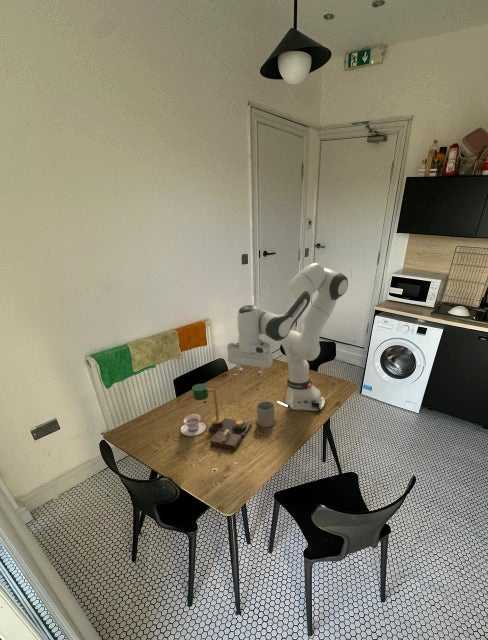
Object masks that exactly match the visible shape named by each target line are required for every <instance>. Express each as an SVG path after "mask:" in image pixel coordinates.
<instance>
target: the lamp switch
mask: <svg viewBox="0 0 488 640" xmlns="http://www.w3.org/2000/svg"><path fill="white" fill-rule="evenodd" d="M243 421H244V420H242V419H238V420H237V421H236V426H237V427H242V426H243Z"/></svg>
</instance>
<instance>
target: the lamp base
mask: <svg viewBox="0 0 488 640" xmlns="http://www.w3.org/2000/svg"><path fill="white" fill-rule="evenodd" d="M236 421H237V420H236V419H231V418H226V417H224V421H223V422H222V423H220V424H214V423H212V424H211V425H210V426H209V427H208V431H209V432H213V433H217V431H222V432H225V430H226V429H227V430H229V432H230V433H232V434H237V435H242V439H243V438H245V436H246V435H247V433H248V432H249V430H250V429H251V428H252V422H247V421H244V420H242V421H243V426H242V427H237V426H236Z"/></svg>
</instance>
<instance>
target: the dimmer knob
mask: <svg viewBox="0 0 488 640" xmlns="http://www.w3.org/2000/svg"><path fill="white" fill-rule="evenodd" d="M229 435H230V432H229V430H227V429H226V430H225V432H224V433H223V434H222V441H226V440H227V438H228V437H229Z"/></svg>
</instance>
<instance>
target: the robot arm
mask: <svg viewBox="0 0 488 640" xmlns="http://www.w3.org/2000/svg"><path fill="white" fill-rule="evenodd" d="M348 287H349V279H348V277H347V276H346V275H344V274H343V273H341V272H338V271H336V270H334V269H332V268H327V267H323V265H322V264H320V263H318V262H312V263H310V264H308V265H307V266H305V267H304V268H302V269H301V270H300V271H299V272H298V273H296V274H295V276H293V277H292V278H291V280H290V281H289V283H288V286H287V290H288V294H289V296H290V298H291V299H292V302H291V304H290V305H289V306H288V308H287V309H286V310H285V311H284V312H283V313H282V314H277V313H274V312H271V311H269V310H265V309H261V308H259V307H257V306H256V305H254V304H247V305H244V306H243V305H242V306H241V307H240V308H239V309H238V312H237V331H238V342H229V343H227V346H226V349H227V362H228V364H232V365H235V367H236V368H237V370H238V374H243V372H244V368H243V367H241V366H247V367H254V368H260V369H259V371H258V372H257V375H258V377H262V376H263V375H264V370H266V369H270V368H272V366H273V365H274V358H273V352H272V351H271V344H270V343H269V342H266V341H264V340H262V339H260V336H261V335H264V336H266V337H268V338H269V339H271V340H273V341H274V342H275V341H276V342H280V344H281V346H282V349H283V350H284V353H285V357H286V363H287V375H288V376H287V378H286V388H287V389H286V396H285V398H284V402H285V403H283V402H281V401H277V403H278V404H280V405H283V406H285V407H288V406H289V408H290V409H291V410H296V411H314V412H321V411H322V409H324V407H325V404H326V399H325V397H323V396H322V393H321V391H320V390H319V389H318V388H317V387H316V386H314V385H313V379H311V378H309V376H310V364H309V362H311V361H312V362H313V361H314V360H316V359H317V358H318V357H319V355H320V353H321V346H320V337H321V333H322V330H323V328H324V327H325V325H326V323H327V322H328V319H329V318H330V316H331V315H332V313H333V311H334V309H335V306H336V303H337V300H338V299H339V298H341V297H343V296H344V294H345V293H346V292H347V290H348ZM315 292H318V293H317V294H316V295H317V296H315V298H314V299H313V301H312V302H311V297H312V296H313V294H314V293H315ZM310 302H311V304H310ZM307 308H308V309H307ZM306 309H307V311H306V313H305V314H304V316H303V317H302V324H303V327H302V331H301V332H299V331H298V330H295V329H293V330H292V328H293V326H294V325H295V323H296V322H297V321H298V320H299V318H300V317H301V316H302V315H303V313H304V312H305V310H306ZM308 361H309V362H308Z"/></svg>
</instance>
